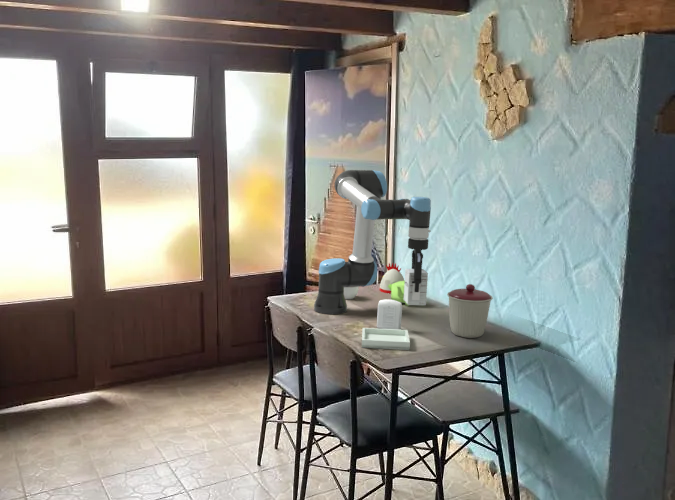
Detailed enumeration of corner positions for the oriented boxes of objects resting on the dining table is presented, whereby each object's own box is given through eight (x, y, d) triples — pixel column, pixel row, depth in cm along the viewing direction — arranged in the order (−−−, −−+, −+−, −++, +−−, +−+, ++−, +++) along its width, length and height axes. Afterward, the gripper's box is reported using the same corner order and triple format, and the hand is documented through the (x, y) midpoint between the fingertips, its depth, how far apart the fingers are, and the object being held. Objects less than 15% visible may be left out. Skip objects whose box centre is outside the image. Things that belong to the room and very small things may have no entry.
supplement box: (403, 300, 244) (404, 268, 242) (421, 300, 245) (423, 268, 243) (407, 305, 237) (409, 272, 235) (426, 305, 238) (428, 272, 236)
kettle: (424, 306, 301) (425, 283, 299) (396, 307, 298) (397, 284, 296) (413, 299, 316) (414, 277, 314) (386, 299, 312) (387, 277, 310)
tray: (361, 347, 237) (361, 339, 237) (362, 334, 253) (362, 327, 252) (409, 350, 236) (409, 342, 236) (407, 337, 252) (407, 329, 252)
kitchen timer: (383, 287, 341) (384, 259, 338) (408, 289, 336) (409, 262, 334) (376, 292, 328) (377, 264, 325) (402, 295, 323) (404, 266, 321)
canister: (435, 332, 261) (438, 282, 257) (465, 325, 271) (468, 278, 268) (468, 343, 246) (472, 291, 243) (498, 336, 257) (503, 286, 253)
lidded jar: (335, 295, 318) (336, 277, 316) (356, 295, 319) (357, 277, 318) (338, 300, 307) (338, 281, 306) (359, 300, 309) (360, 281, 307)
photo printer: (401, 328, 264) (403, 299, 262) (399, 331, 260) (401, 302, 258) (378, 325, 267) (379, 297, 265) (375, 328, 263) (376, 299, 261)
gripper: (431, 243, 226) (427, 304, 230) (425, 234, 247) (421, 291, 251) (410, 242, 227) (406, 303, 231) (406, 233, 247) (403, 290, 251)
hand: (414, 297), depth 241 cm, fingers closed on supplement box, 8 cm apart
